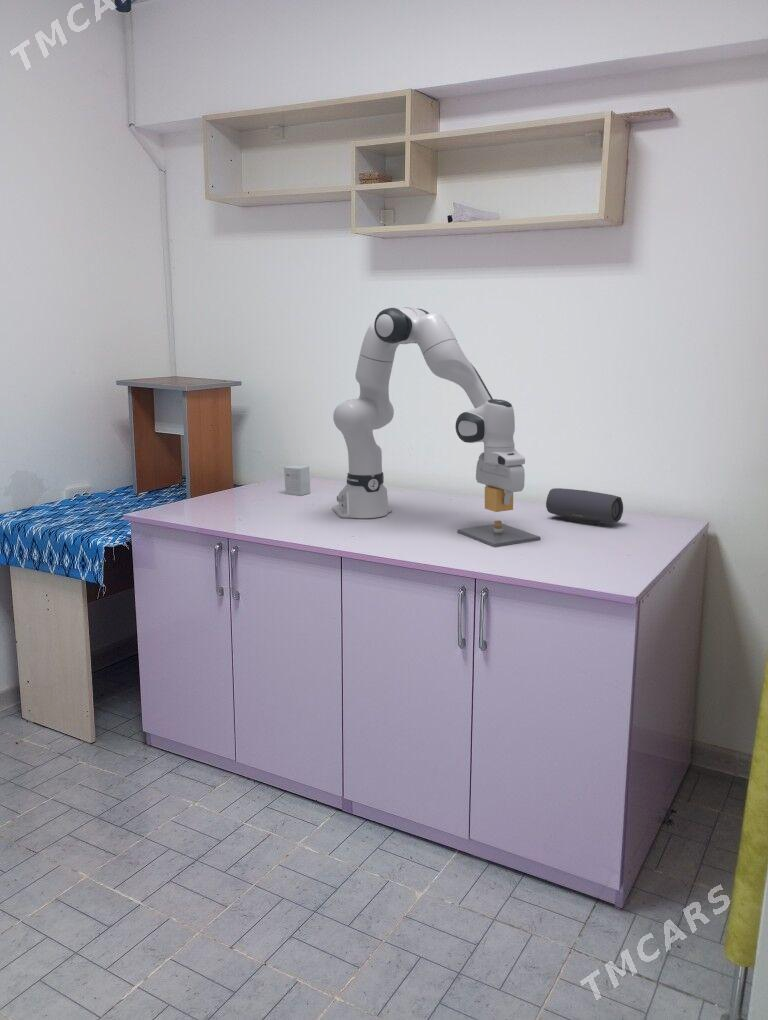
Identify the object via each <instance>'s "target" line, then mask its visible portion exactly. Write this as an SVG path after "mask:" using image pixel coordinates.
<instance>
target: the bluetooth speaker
mask: <svg viewBox="0 0 768 1020" xmlns="http://www.w3.org/2000/svg"><path fill="white" fill-rule="evenodd" d="M545 506H546V507H545V508H546V511H547V512H548V513H549V514H552V515H556V516H560V517H564V518H567V521H571V522H576V523H583V524H589V525H599V524H600V523H607V524H616V523H618V522H619V521H620V520H621V518H622V517H623V514H624V503H623V499H622V497H621V496H617V495H613V494H609V493H603V492H597V491H590V490H584V489H583V490H581V489H573V488H559V487H558V488H554V487H553V488H551V489H550V490H549V491H548V494H547V497H546V501H545Z"/></svg>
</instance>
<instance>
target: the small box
mask: <svg viewBox="0 0 768 1020" xmlns="http://www.w3.org/2000/svg"><path fill="white" fill-rule="evenodd" d="M283 470H284V471H283V472H284V488H285V489H284V490H285V491H284V492H285V494H286V495H291V496H292V495H293V496H305V495H309V494H311V476H310V466H307V465H306V466H305V465H297V464H296V465H295V464H292V465H287V466H285V467H284V468H283Z"/></svg>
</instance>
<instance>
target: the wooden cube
mask: <svg viewBox="0 0 768 1020" xmlns="http://www.w3.org/2000/svg"><path fill="white" fill-rule="evenodd" d="M504 496H505V493H504V490H503V489H500V488H496V487H492V486H489V487H486V486H484V510H487V511H492V512H494V513H499V512H500V513H502V512H508V511H513V510H514V493H513V494H512V496H511V498H510V504H509V505H504V504H502V498H504Z"/></svg>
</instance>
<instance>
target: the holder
mask: <svg viewBox="0 0 768 1020" xmlns="http://www.w3.org/2000/svg"><path fill="white" fill-rule="evenodd" d="M456 531H457V533H458V534H460V535H461V536H466V537H468V538H470V539H473V540H476V541H478V542H480V543H483V544H486V545H487V546H490V547H493V548H498V547H504V546H510V545H517V544H523V543H529V542H530V543H531V542H536V541H541V536H540V535H538V534H534V533H531V532H528V531H525V530H522V529H519V528H516V527H514V526H510V525H507V524H505V523H503V521H501V520H494V523H493V524H492V523H491V524H484V525H479V526H473V527H472V526H471V527H465V528H458V529H456Z"/></svg>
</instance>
